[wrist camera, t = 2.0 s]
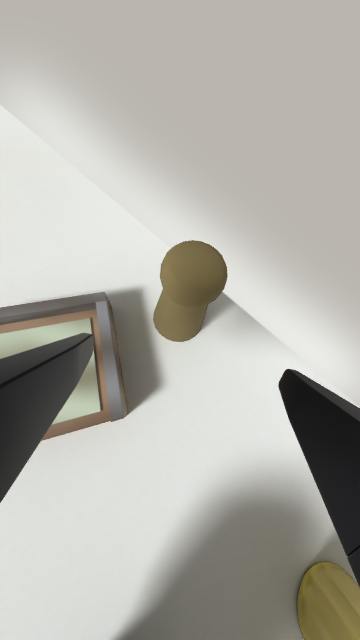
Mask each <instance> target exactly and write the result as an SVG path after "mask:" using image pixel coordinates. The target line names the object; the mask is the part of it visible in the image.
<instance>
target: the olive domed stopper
mask: <svg viewBox="0 0 360 640" xmlns="http://www.w3.org/2000/svg"><path fill="white" fill-rule="evenodd" d="M160 279H161V283H162V286H163V290H162V293H161V295H160V298H159V301H158V303H157V306H156V308H155V311H154V318H153V320H154V324H155V327H156V329H157V330H158V332H159V333H160V334H161V335H162V336H163V337H165V338H166V339H169V340H171V341H176V342H183V341H187V340H190V339H191V338H193V337H194V336H196V335H197V333H198V332H199V331H200V329H201V326H202V322H203V319H204V316H205V313H206V310H207V307H208V304H209V303H211V302H212V301H214V300H216V298H217V297H218V296H219V295H220V293H221V292H222V291H223V289H224V287H225V284H226V280H227V267H226V264H225V261H224V259H223V257H222V255H221V254H220V253H219V252H218V251H217V250H216V249H215V248H214V247H212V246H211V245H209V244H206V243H204V242H201V241H193V240H192V241H185V242H182V243H180V244H177V245H176V246H174V247H173V248H172V249H171V250H169V251H168V252H167V254H166V256H165V258H164V260H163V262H162V264H161V272H160Z"/></svg>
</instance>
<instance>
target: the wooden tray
mask: <svg viewBox="0 0 360 640" xmlns="http://www.w3.org/2000/svg"><path fill="white" fill-rule="evenodd" d="M80 333H89V334H93V336H94V345H93V354H92V356H91V358H90V360H89V363H88V365H87V367H86V369H85V371H84V373H83V375H82V377H81V379H80V381H79V382H78V384H77V386H76V388H75V389H74V391H73V392H72V394H71V395H70V397H69V398H68V400H67V402H66V403H65V405H64V406H63V408H62V409H61V411H60V412H59V414H58V415H57V417H56V418H55V420H54V421H53V423H52V425H51V426H50V428H49V429H48V431H47V432H46V434H45V435H44V437H43V438H42V440H46V439H49V438H53V437H56V436H59V435H63V434H66V433H70V432H73V431H77V430H80V429H84V428H87V427H91V426H94V425H98V424H101V423H105V422H108V421H111V422H112V421H116V420H119V419H123V418H124V417H126V416H127V415H128V411H127V404H126V398H125V391H124V385H123V379H122V372H121V366H120V359H119V353H118V346H117V340H116V334H115V327H114V321H113V314H112V308H111V305H110V302H109V300H108V298H107V296H106V293H105V292H101V293H95V294H88V295H81V296H75V297H68V298H61V299H55V300H48V301H42V302H35V303H28V304H22V305H15V306H8V307H2V308H0V359H1V358H5V357H8V356H11V355H14V354H17V353H20V352H24V351H27V350H30V349H33V348H36V347H39V346H42V345H46V344H49V343H52V342H55V341H58V340H61V339H65V338H68V337H71V336H74V335H77V334H80ZM42 440H41V441H42Z"/></svg>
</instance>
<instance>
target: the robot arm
mask: <svg viewBox="0 0 360 640" xmlns="http://www.w3.org/2000/svg"><path fill="white" fill-rule="evenodd" d="M93 345H94V336H93V334H89V333H80V334H77V335H74V336H71V337H68V338H65V339H61V340H58V341H55V342H52V343H49V344H46V345H42V346H39V347H36V348H33V349H30V350H27V351H24V352H20V353H17V354H14V355H11V356H8V357H5V358H1V359H0V503H1V501H2V500H3V498H4V497H5V495H6V494H7V492H8V490H9V489H10V487H11V486H12V484H13V483H14V481H15V480H16V478H17V477H18V475H19V474H20V472H21V471H22V469H23V467H24V466H25V464H26V463H27V461H28V460H29V458H30V457H31V455H32V454H33V452H34V451H35V449H36V448H37V446H38V444H39V443H40V441H41V440H42V438H43V437H44V435H45V434H46V432H47V431H48V429H49V428H50V426H51V425H52V423H53V421H54V420H55V418H56V417H57V415H58V414H59V412H60V411H61V409H62V408H63V406H64V405H65V403H66V402H67V400H68V398H69V397H70V395H71V394H72V392H73V391H74V389H75V388H76V386H77V384H78V382H79V381H80V379H81V377H82V375H83V373H84V371H85V369H86V367H87V365H88V363H89V360H90V358H91V356H92V354H93ZM279 390H280V393H281V396H282V399H283V402H284V406H285V409H286V412H287V415H288V418H289V420H290V423H291V425H292V428H293V430H294V432H295V435H296V437H297V440H298V442H299V444H300V447H301V449H302V451H303V454H304V456H305V459H306V461H307V463H308V466H309V468H310V470H311V473H312V475H313V477H314V480H315V482H316V485H317V487H318V489H319V492H320V494H321V496H322V499H323V501H324V503H325V506H326V508H327V511H328V513H329V515H330V518H331V520H332V522H333V525H334V527H335V530H336V532H337V534H338V537H339V539H340V541H341V544H342V546H343V548H344V551H345V553H346V555H347V556H348V557H347V558H348V561H349V563H350V566H351V568H352V570H353V573H354V575H355V577H356V580H357V582H358V585H359V587H360V408H358V407H356V406H355V405H353V404H351V403H350V402H348V401H346V400H345V399H343V398H341V397H340V396H338V395H336V394H335V393H333V392H331V391H330V390H328V389H326V388H325V387H323V386H321V385H320V384H318V383H316V382H315V381H313V380H311V379H310V378H308V377H306V376H305V375H303V374H301V373H300V372H298V371H296V370H292V369H286V370H285V372H284V373H283V375H282V377H281V379H280V381H279Z"/></svg>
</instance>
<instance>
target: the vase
mask: <svg viewBox="0 0 360 640" xmlns="http://www.w3.org/2000/svg"><path fill="white" fill-rule="evenodd" d="M298 618H299V624H300V628H301V631H302V634H303V637H304V640H360V587H359V586H358V584H357V583H356V582H355V581H354V580H353V579H352V578H351V577H350V576H349V575H348V574H347V573H346V572H345V571H344V570H343V569H341V568H340V567H339V566H337V565H336V564H333V563H329V562H320V563H317V564H315V565H313V566H312V567H311V568H310V569H309V570H308V571H307V572H306V574H305V575H304V577H303V580H302V582H301V586H300V590H299V594H298Z"/></svg>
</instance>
